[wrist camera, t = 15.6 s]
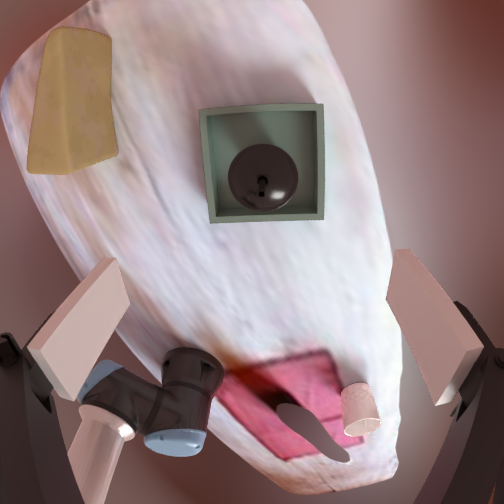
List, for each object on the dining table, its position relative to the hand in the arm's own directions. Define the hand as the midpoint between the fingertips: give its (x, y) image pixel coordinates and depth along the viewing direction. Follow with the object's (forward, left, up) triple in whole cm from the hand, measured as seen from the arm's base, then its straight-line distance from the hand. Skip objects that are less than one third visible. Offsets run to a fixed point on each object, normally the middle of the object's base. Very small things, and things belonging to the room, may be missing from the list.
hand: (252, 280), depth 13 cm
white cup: (+22, -58, -35) cm, 71 cm away
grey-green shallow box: (0, 0, -35) cm, 35 cm away
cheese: (-27, +15, -35) cm, 47 cm away
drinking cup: (0, 0, -34) cm, 34 cm away
